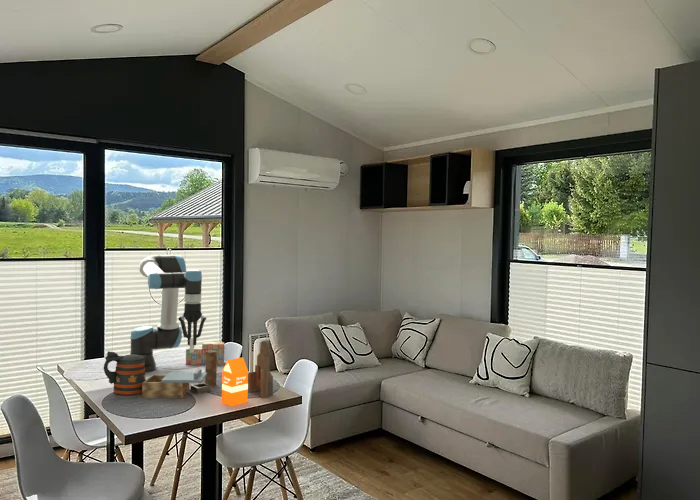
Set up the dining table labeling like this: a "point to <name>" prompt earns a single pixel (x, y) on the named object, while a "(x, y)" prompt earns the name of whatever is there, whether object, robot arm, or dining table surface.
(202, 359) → the stack of blocks
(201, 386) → the socket
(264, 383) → the wooden toy
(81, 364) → the dining table surface
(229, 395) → the orange juice
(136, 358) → the beer stein
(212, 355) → the pin
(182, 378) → the lid
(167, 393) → the toolbox
